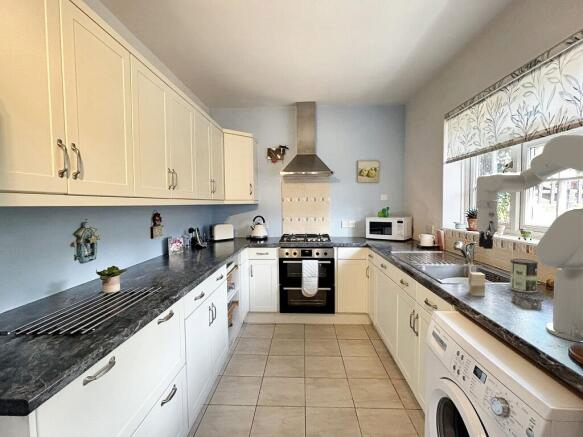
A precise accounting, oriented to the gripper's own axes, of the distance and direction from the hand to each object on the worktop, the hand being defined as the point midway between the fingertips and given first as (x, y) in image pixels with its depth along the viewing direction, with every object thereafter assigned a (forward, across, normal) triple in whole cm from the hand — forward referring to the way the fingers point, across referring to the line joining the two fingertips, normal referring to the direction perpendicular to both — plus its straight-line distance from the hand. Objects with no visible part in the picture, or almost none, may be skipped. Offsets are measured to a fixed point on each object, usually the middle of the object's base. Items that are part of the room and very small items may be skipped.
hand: (485, 247), depth 122 cm
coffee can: (+24, +22, -24) cm, 40 cm away
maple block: (+23, +9, 0) cm, 25 cm away
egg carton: (+24, -1, -15) cm, 28 cm away
